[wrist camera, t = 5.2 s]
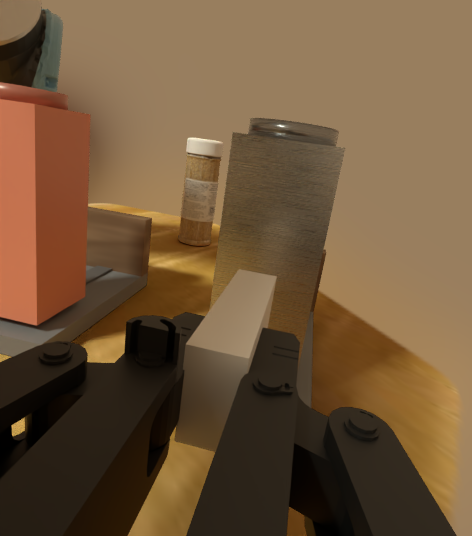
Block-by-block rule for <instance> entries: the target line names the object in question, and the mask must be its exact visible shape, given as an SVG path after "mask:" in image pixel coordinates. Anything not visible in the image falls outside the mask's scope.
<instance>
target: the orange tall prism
mask: <svg viewBox="0 0 472 536" xmlns="http://www.w3.org/2000/svg"><path fill="white" fill-rule="evenodd" d="M89 146H90V115H89V114H84V113H78V112H74V111H69V110H68V96H67V95H64V94H60V93H56V92H52V91H47V90H42V89H37V88H32V87H26V86H21V85H15V84H9V83H2V82H0V317H3V318H7V319H11V320H15V321H20V322H24V323H28V324H32V325H39V324H40V323H42V322H44V321H46V320H47V319H49V318H51V317H52V316H54V315H56V314H57V313H59V312H61V311H62V310H64V309H66V308H67V307H69V306H71V305H72V304H74V303H76V302H77V301H79V300H81V299H82V298H84V297H85V287H86V252H87V217H88V181H89Z"/></svg>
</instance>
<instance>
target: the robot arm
mask: <svg viewBox="0 0 472 536" xmlns="http://www.w3.org/2000/svg"><path fill="white" fill-rule="evenodd" d="M62 31H63V22H62V20H61V18H60V17H59V16H57V15H56V14H53V13H51V12H50V11H49V10H48V9H42V7H41V0H0V82H2V83H9V84H15V85H21V86H26V87H32V88H37V89H42V90H47V91H52V92H56V93H57V84H58V75H59V66H60V55H61V44H62ZM276 278H277V276H272V275H267V274H261V273H256V272H251V271H246V270H241V269H239V270H238V271H237V273H236V274H235V275H234V277H233V278H232V280H231V281H230V282H229V284H228V285H227V287H226V288H225V289H224V291H223V292H222V294H221V295H220V297H219V298H218V299H217V301H216V302H215V304H214V305H213V306H212V308H211V309H210V311H209V312H208V313H207V315H206V316H201V315H197V314H192V313H187V312H185V313H183V314H180V315H178V316H176V317H174V318H173V319H169V318H166V317H162V316H154V315H152V316H140V317H136V318H132V319H131V320H129V321H127V322H126V338H125V353H124V354H123V355H122V356H121V357H120V358H119V359H118V360H117V361H116V362H115V363H90V362H87V352H86V349H85V348H83V347H82V346H80V345H79V344H75V343H71V342H66V341H64V342H63V341H56V342H51V343H45V344H42V345H39V346H36V347H34V348H31V349H29V350H27V351H25V352H22V353H20V354H18V355H16V356H13V357H11V358H9V359H7V360H4V361H2V362H0V536H128V534H129V532H130V530H131V528H132V526H133V524H134V522H135V520H136V518H137V516H138V514H139V512H140V510H141V508H142V506H143V504H144V502H145V500H146V498H147V495H148V493H149V491H150V489H151V487H152V485H153V483H154V481H155V479H156V477H157V475H158V473H159V471H160V469H161V467H162V465H163V463H164V461H165V459H166V457H167V455H168V450H169V442H170V436H171V434H172V432H173V430H174V429H175V427H176V434H175V441H176V442H180V443H184V444H188V445H192V446H195V447H199V448H203V449H207V450H210V451H214V452H215V455H214V458H213V461H212V464H211V466H210V469H209V472H208V475H207V478H206V481H205V484H204V486H203V489H202V492H201V495H200V498H199V501H198V504H197V506H196V509H195V512H194V515H193V518H192V521H191V524H190V527H189V529H188V532H187V535H186V536H286V534H287V522H288V510H289V506H290V507H291V508H293V509H295V510H296V511H298V512H300V513H301V514H303V515H305V529H306V533H307V536H456V534H455V532H454V531H453V529H452V527H451V526H450V524H449V522H448V521H447V519H446V517H445V516H444V514H443V513H442V511H441V509H440V508H439V506H438V504H437V503H436V501H435V499H434V498H433V496H432V494H431V493H430V491H429V489H428V488H427V486H426V485H425V483H424V481H423V480H422V478H421V476H420V475H419V473H418V471H417V470H416V468H415V466H414V465H413V463H412V462H411V460H410V458H409V457H408V455H407V453H406V452H405V450H404V448H403V447H402V445H401V443H400V442H399V440H398V438H397V437H396V435H395V434H394V432H393V430H392V429H391V428H390V427H389V426H388V425H387V423H386V422H384V421H383V420H382V419H380V418H379V417H377V416H376V415H374V414H372V413H370V412H367V411H365V410H362V409H358V408H353V407H340V408H338V409H336V410H333V411H332V413H331V414H330V416H329V417H327V416H325V415H323V414H321V413H319V412H317V411H315V410H313V409H311V408H310V407H309V406H307V405H306V404H305V403H304V402H303V401H302V400H301V399H300V398H299V396H298V391H297V387H296V383H297V372H298V361H299V349H300V342H299V341H298V339H297V338H296V336H295V335H294V334H291V333H287V332H282V331H277V330H273V329H268V323H269V317H270V312H271V306H272V301H273V295H274V290H275V284H276ZM24 417H25V431H23V432H22V433H20V434H18V435H16V436H12V427H11V425H13V424H14V423H16V422H18V421H19V420H21V419H22V418H24ZM176 425H177V426H176Z"/></svg>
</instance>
